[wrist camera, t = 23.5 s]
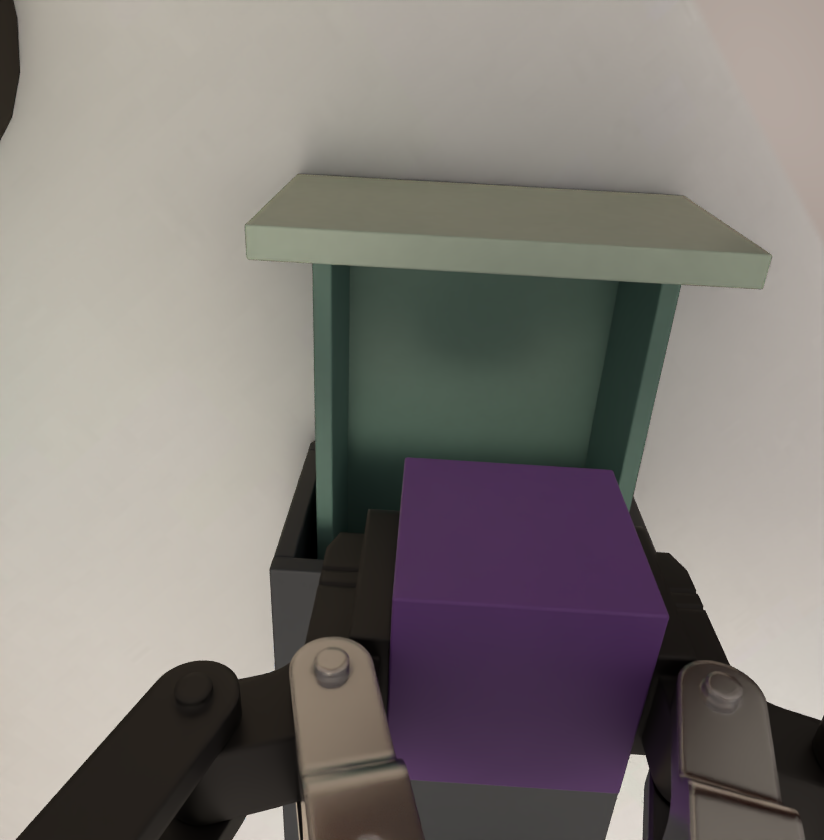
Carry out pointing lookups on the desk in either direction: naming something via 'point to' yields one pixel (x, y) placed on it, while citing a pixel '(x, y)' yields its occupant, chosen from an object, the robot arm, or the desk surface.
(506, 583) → the purple matte cube
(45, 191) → the desk surface
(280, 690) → the robot arm
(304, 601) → the housing
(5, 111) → the tape dispenser
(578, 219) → the sliding matchbox
